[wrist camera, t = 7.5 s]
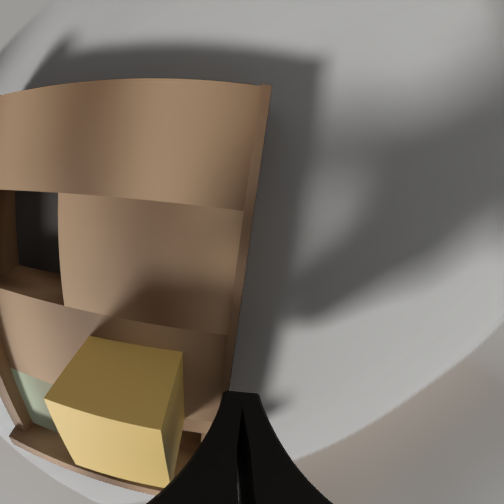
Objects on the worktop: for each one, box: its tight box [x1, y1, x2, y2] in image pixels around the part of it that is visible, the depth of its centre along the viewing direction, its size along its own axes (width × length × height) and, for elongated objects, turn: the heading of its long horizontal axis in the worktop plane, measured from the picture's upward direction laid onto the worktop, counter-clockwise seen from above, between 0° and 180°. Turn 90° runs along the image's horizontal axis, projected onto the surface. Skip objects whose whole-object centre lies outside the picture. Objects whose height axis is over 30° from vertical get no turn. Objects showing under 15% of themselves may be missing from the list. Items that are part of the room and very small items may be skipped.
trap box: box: [0, 78, 272, 495], centre depth 11 cm, size 13×19×5 cm
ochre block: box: [44, 336, 185, 488], centre depth 10 cm, size 4×4×4 cm
